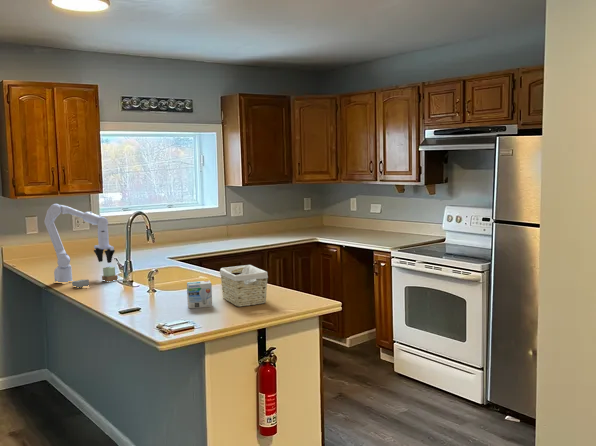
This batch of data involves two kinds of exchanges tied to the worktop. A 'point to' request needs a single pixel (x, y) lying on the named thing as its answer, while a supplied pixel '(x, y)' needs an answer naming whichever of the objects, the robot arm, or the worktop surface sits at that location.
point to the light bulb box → (199, 294)
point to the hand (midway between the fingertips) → (104, 262)
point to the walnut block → (110, 278)
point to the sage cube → (109, 271)
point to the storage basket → (244, 285)
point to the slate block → (80, 283)
